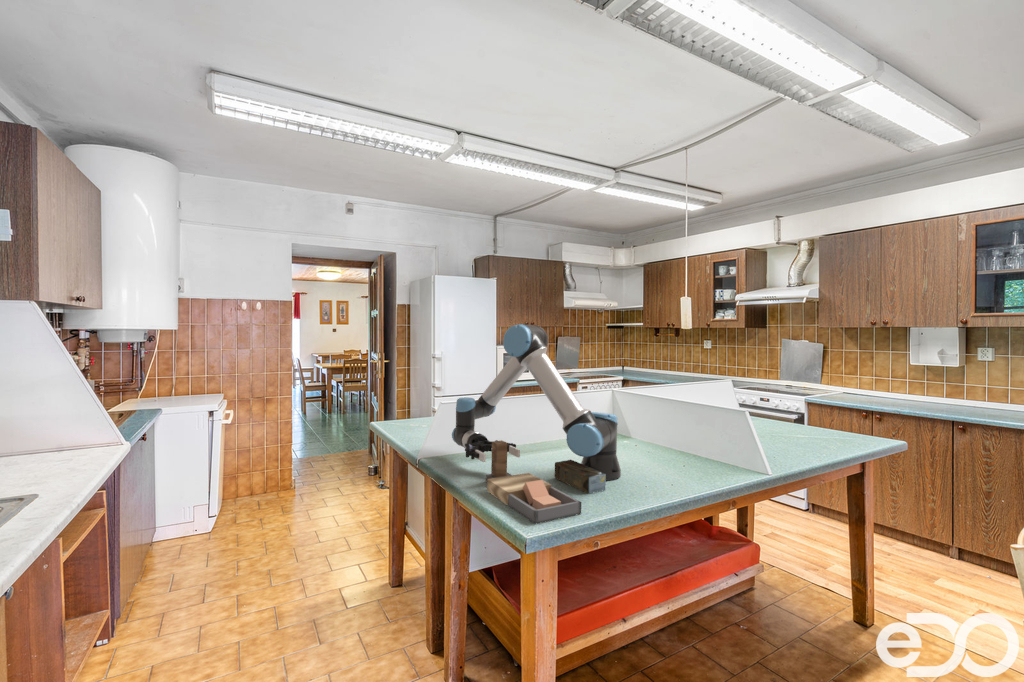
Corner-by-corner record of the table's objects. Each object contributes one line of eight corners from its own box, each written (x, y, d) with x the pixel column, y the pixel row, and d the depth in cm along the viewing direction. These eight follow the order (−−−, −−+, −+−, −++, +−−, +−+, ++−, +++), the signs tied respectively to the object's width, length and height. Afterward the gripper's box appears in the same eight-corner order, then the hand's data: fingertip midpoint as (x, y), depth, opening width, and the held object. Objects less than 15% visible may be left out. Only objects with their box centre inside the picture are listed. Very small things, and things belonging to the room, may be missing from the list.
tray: (508, 505, 144) (508, 494, 144) (551, 497, 152) (552, 486, 152) (535, 524, 131) (535, 511, 131) (581, 513, 139) (581, 502, 139)
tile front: (543, 504, 136) (543, 515, 136) (560, 501, 139) (560, 511, 139) (532, 498, 141) (532, 508, 141) (549, 495, 144) (549, 504, 144)
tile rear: (522, 487, 147) (525, 482, 145) (538, 485, 150) (542, 479, 148) (529, 505, 143) (533, 500, 141) (546, 502, 146) (550, 496, 144)
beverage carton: (588, 495, 155) (588, 475, 155) (553, 478, 172) (553, 460, 172) (606, 491, 160) (606, 471, 159) (570, 475, 176) (570, 458, 176)
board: (487, 491, 156) (487, 479, 156) (528, 484, 164) (528, 472, 164) (507, 505, 144) (508, 492, 144) (551, 497, 152) (551, 484, 152)
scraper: (485, 481, 166) (486, 441, 166) (505, 478, 170) (506, 439, 170) (491, 485, 162) (492, 444, 162) (511, 482, 166) (512, 442, 166)
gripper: (503, 448, 189) (532, 462, 170) (444, 455, 176) (469, 471, 158) (503, 429, 188) (532, 441, 170) (445, 435, 176) (469, 448, 157)
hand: (502, 455), depth 164 cm, fingers open, 13 cm apart
